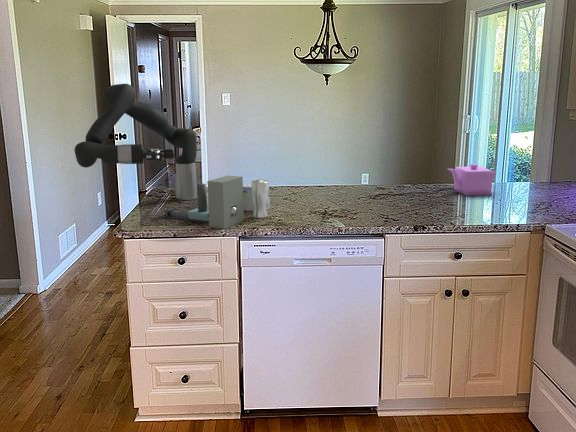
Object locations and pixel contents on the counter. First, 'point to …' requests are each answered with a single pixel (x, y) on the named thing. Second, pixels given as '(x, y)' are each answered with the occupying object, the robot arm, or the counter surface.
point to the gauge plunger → (233, 210)
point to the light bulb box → (248, 198)
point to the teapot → (473, 180)
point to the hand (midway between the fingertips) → (173, 153)
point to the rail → (180, 215)
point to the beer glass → (259, 198)
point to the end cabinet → (225, 201)
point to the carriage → (200, 205)
